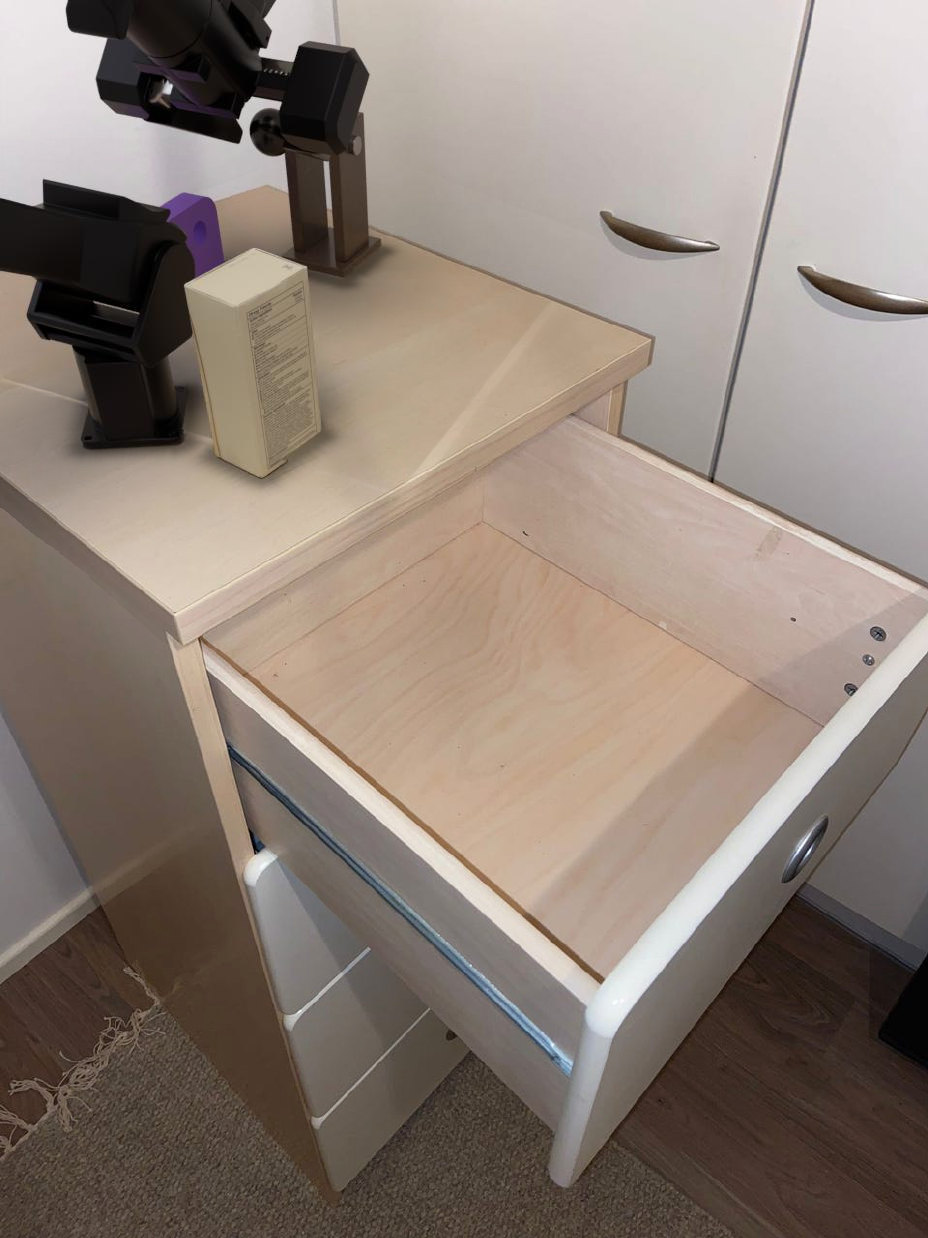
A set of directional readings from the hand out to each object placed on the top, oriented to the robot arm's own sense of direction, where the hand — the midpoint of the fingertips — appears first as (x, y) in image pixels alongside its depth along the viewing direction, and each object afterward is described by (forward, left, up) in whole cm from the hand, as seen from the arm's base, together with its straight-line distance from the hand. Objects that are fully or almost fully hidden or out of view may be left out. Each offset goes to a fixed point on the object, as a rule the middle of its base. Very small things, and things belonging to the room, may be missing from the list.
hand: (283, 145), depth 73 cm
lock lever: (+2, -1, -1) cm, 2 cm away
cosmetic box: (-23, +2, -12) cm, 26 cm away
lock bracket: (+5, -3, -11) cm, 13 cm away
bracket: (+3, +13, -12) cm, 18 cm away
